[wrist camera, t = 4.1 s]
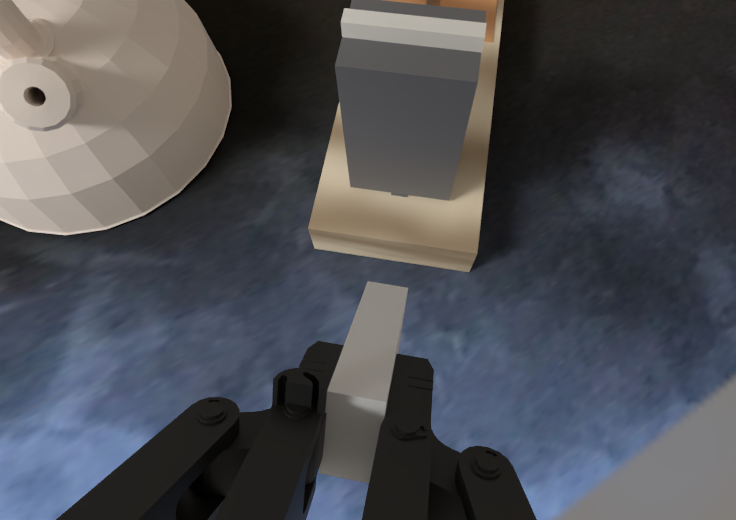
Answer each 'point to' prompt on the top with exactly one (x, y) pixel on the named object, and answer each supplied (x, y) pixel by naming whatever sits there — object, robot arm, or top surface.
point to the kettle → (103, 109)
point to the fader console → (405, 212)
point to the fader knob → (407, 93)
